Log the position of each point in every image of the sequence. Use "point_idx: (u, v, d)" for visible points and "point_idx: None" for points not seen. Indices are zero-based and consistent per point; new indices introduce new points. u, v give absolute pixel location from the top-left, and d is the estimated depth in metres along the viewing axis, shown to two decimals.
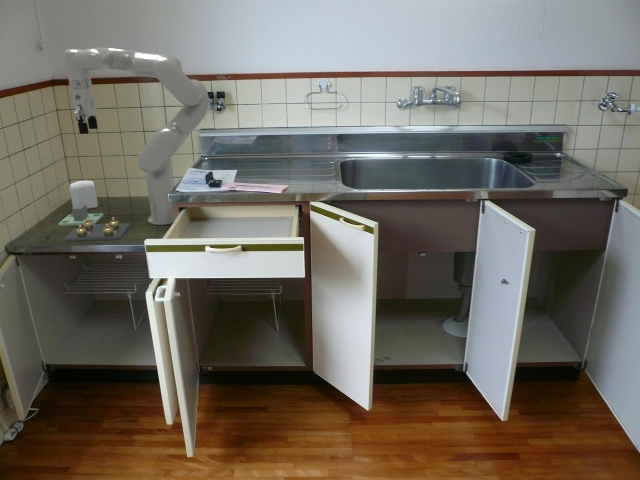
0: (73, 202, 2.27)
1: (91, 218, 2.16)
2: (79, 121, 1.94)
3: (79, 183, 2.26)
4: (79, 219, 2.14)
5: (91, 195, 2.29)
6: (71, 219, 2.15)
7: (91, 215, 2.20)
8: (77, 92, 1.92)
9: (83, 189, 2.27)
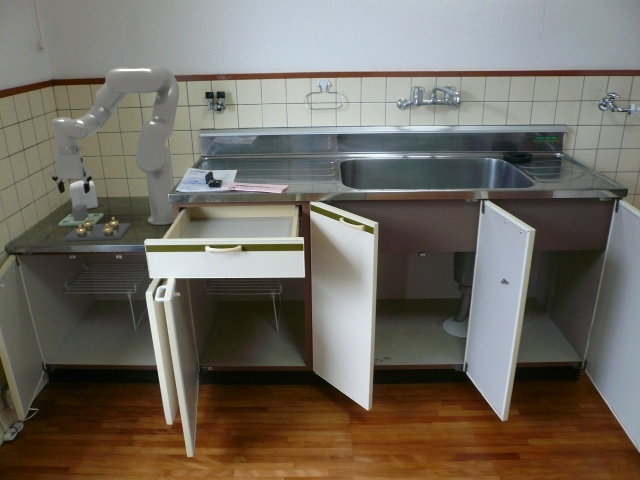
0: (73, 202, 2.27)
1: (91, 218, 2.16)
2: (89, 181, 2.11)
3: (79, 183, 2.26)
4: (79, 219, 2.14)
5: (91, 195, 2.29)
6: (71, 219, 2.15)
7: (91, 215, 2.20)
8: (80, 155, 2.07)
9: (83, 188, 2.27)
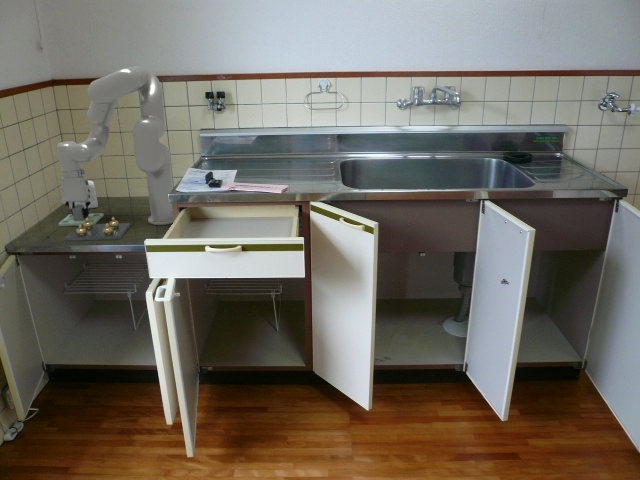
0: None
1: (91, 218, 2.16)
2: (88, 205, 2.14)
3: None
4: (79, 219, 2.14)
5: None
6: (71, 219, 2.15)
7: (91, 215, 2.20)
8: (85, 178, 2.11)
9: None
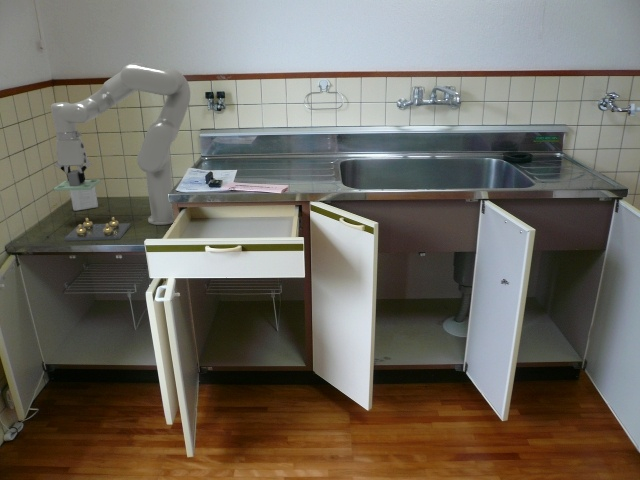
0: (73, 202, 2.27)
1: (87, 183, 2.09)
2: (84, 170, 2.07)
3: None
4: (75, 184, 2.06)
5: (91, 195, 2.29)
6: (67, 185, 2.08)
7: (88, 181, 2.12)
8: (80, 141, 2.03)
9: None
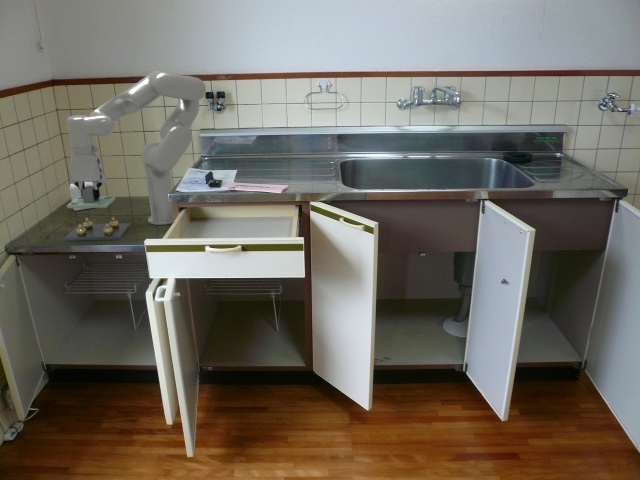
0: None
1: (102, 200, 1.98)
2: (99, 187, 1.96)
3: None
4: (89, 201, 1.95)
5: None
6: (80, 201, 1.97)
7: (102, 198, 2.01)
8: (97, 156, 1.92)
9: None
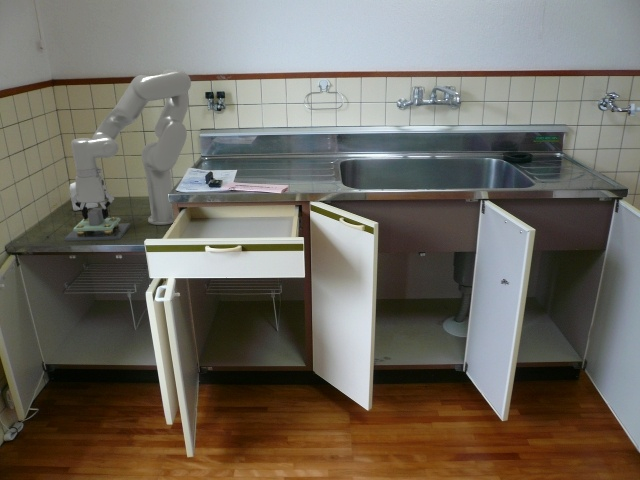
0: None
1: (108, 223, 2.02)
2: (107, 206, 1.99)
3: None
4: (95, 224, 1.99)
5: None
6: (86, 224, 2.01)
7: (107, 219, 2.05)
8: (101, 178, 1.96)
9: None
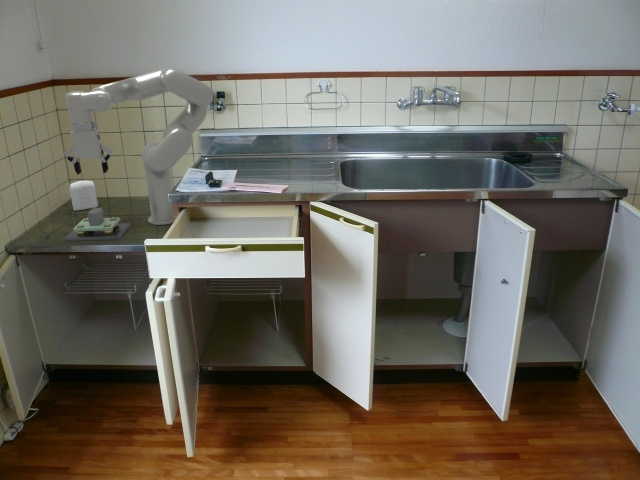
0: (73, 202, 2.27)
1: (108, 223, 2.02)
2: (107, 159, 1.96)
3: (79, 183, 2.26)
4: (95, 224, 1.99)
5: (91, 195, 2.29)
6: (86, 224, 2.01)
7: (107, 219, 2.05)
8: (97, 132, 1.93)
9: (83, 189, 2.27)
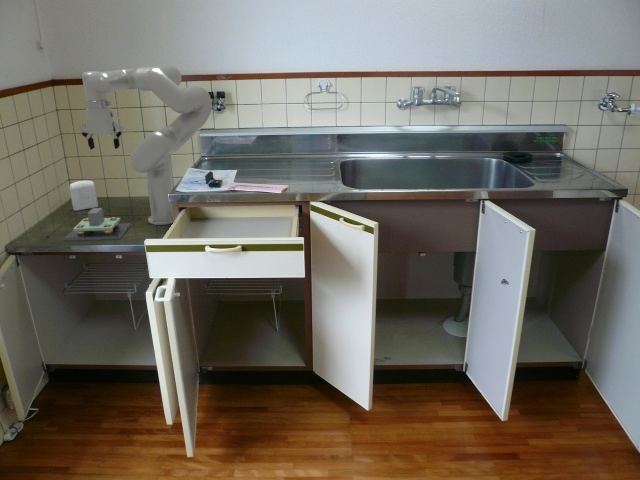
0: (73, 202, 2.27)
1: (108, 223, 2.02)
2: (119, 136, 2.10)
3: (79, 183, 2.26)
4: (95, 224, 1.99)
5: (91, 195, 2.29)
6: (86, 224, 2.01)
7: (107, 219, 2.05)
8: (110, 110, 2.07)
9: (83, 189, 2.27)
